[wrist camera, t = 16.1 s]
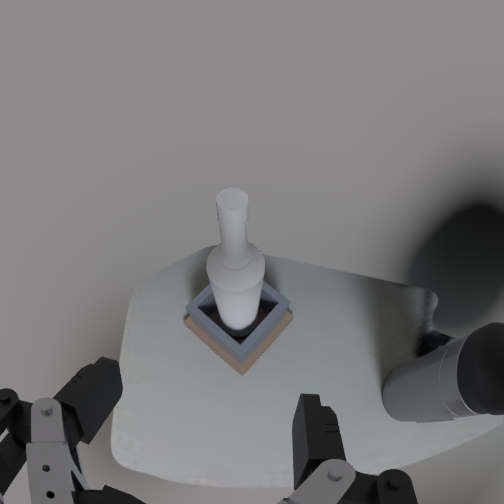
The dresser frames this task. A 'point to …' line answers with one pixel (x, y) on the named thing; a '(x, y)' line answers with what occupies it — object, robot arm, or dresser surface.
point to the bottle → (235, 266)
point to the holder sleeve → (249, 347)
